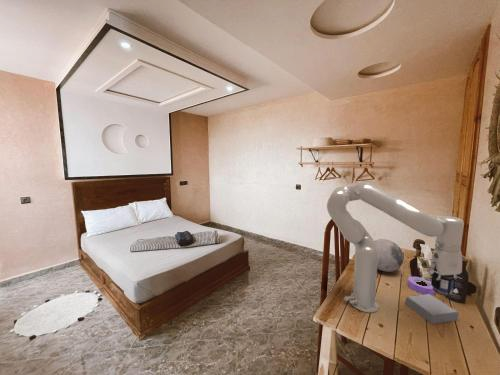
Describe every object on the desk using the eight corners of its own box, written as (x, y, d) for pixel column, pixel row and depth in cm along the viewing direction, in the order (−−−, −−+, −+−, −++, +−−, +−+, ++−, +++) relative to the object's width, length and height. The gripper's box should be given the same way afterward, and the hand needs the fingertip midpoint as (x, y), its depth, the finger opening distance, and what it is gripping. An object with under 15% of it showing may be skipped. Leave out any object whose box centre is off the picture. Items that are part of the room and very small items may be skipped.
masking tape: (417, 280, 122) (417, 274, 121) (440, 292, 111) (441, 286, 110) (402, 284, 118) (403, 278, 118) (425, 297, 107) (426, 290, 107)
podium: (432, 324, 89) (433, 315, 89) (405, 303, 102) (406, 296, 102) (457, 320, 91) (458, 311, 91) (428, 300, 104) (429, 293, 104)
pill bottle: (442, 287, 91) (445, 264, 89) (456, 296, 85) (459, 271, 83) (428, 287, 91) (431, 264, 90) (441, 296, 85) (444, 271, 83)
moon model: (369, 275, 128) (371, 244, 125) (363, 260, 147) (364, 233, 144) (407, 280, 122) (410, 248, 119) (395, 264, 140) (398, 236, 138)
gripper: (438, 251, 81) (432, 293, 83) (476, 249, 83) (470, 290, 85) (420, 243, 88) (416, 282, 90) (456, 241, 90) (451, 280, 92)
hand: (442, 286), depth 88 cm, fingers closed on pill bottle, 6 cm apart
